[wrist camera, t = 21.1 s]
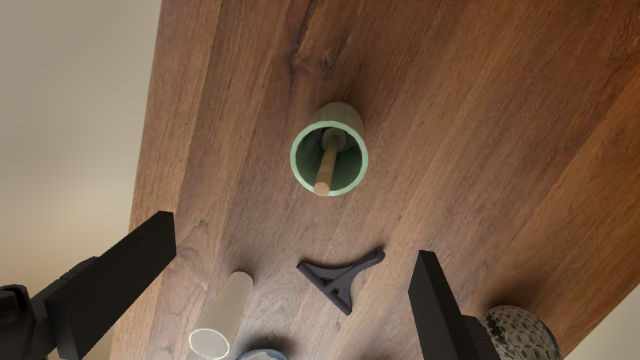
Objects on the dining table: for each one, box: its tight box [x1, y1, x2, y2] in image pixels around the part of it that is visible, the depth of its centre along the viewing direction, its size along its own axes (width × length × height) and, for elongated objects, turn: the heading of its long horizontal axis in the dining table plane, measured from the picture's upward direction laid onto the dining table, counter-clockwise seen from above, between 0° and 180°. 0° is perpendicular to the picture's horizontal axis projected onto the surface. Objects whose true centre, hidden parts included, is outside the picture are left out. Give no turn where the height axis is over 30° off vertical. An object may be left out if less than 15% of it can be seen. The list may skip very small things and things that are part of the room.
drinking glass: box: [189, 272, 254, 359], centre depth 55 cm, size 7×7×15 cm
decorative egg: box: [479, 305, 564, 360], centre depth 51 cm, size 12×12×15 cm
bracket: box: [296, 248, 385, 316], centre depth 57 cm, size 14×15×3 cm
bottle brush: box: [313, 126, 347, 196], centre depth 37 cm, size 3×3×24 cm
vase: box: [290, 102, 368, 196], centre depth 41 cm, size 8×8×17 cm
